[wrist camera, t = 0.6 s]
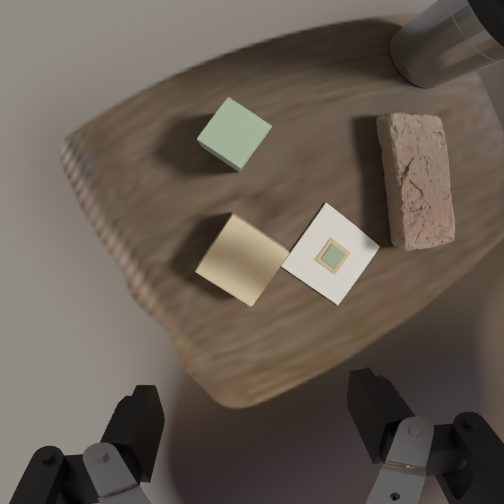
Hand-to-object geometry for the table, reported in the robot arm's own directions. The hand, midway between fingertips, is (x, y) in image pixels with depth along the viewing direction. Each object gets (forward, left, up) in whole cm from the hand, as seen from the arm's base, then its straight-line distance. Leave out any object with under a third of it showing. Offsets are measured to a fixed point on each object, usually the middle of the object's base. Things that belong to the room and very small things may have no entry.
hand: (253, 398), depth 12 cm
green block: (-11, -8, -25) cm, 28 cm away
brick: (-21, +12, -25) cm, 35 cm away
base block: (-1, 0, -25) cm, 25 cm away
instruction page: (-7, +9, -25) cm, 27 cm away
